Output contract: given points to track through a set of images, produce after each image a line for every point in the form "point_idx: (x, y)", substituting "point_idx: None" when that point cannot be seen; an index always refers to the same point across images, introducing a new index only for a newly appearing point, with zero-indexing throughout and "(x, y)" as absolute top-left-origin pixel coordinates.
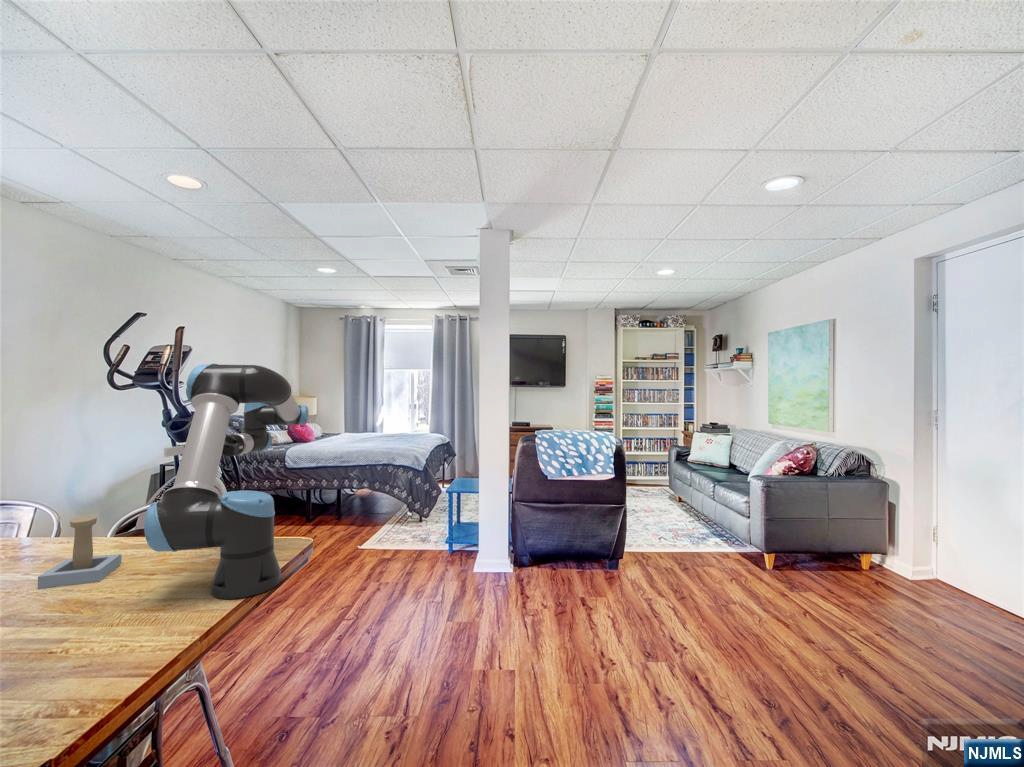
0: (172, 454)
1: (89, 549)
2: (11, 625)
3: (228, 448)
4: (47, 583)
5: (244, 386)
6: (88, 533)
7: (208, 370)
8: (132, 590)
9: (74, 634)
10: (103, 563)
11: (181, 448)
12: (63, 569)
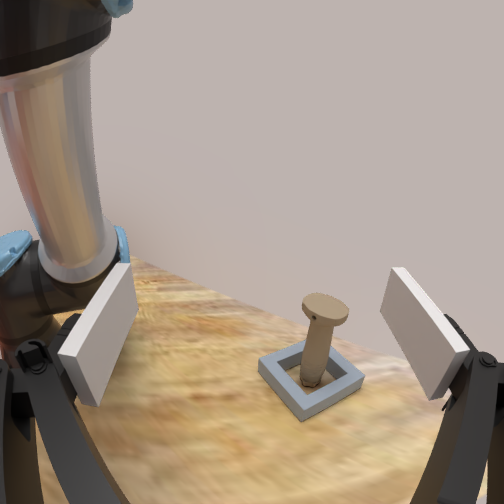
0: (396, 330)
1: (304, 350)
2: (234, 300)
3: (20, 368)
4: None
5: None
6: (310, 327)
7: None
8: (179, 355)
9: (159, 294)
10: (282, 375)
11: (437, 351)
12: (332, 363)
